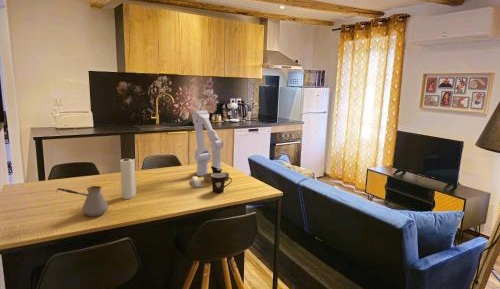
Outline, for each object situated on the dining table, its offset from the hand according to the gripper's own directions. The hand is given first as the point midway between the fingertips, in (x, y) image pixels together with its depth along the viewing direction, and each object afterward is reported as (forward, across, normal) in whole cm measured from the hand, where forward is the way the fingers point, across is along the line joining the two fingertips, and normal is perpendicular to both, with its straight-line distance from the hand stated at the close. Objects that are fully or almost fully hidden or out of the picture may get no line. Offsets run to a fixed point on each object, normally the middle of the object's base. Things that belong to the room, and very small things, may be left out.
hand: (216, 178), depth 215 cm
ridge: (+1, -5, +14) cm, 15 cm away
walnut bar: (+1, 0, 0) cm, 1 cm away
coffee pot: (+2, -37, +74) cm, 83 cm away
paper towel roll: (+2, -18, +54) cm, 57 cm away
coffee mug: (+2, -22, +3) cm, 22 cm away
